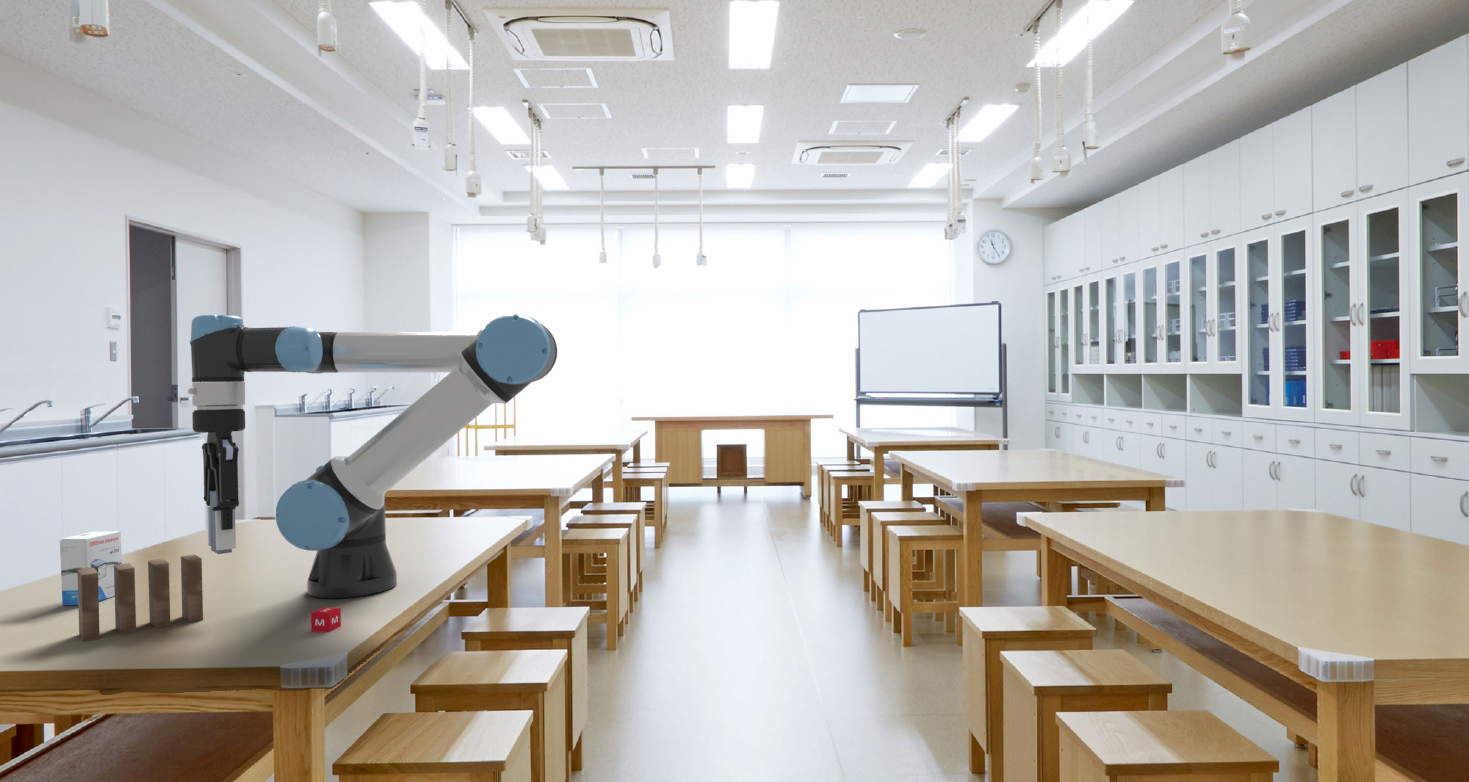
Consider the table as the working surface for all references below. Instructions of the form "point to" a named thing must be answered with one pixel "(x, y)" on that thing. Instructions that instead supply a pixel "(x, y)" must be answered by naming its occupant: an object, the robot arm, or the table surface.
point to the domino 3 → (191, 588)
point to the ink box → (89, 562)
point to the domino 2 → (159, 593)
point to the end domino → (88, 604)
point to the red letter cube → (325, 619)
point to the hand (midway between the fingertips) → (221, 546)
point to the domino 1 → (125, 598)
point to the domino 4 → (214, 524)
